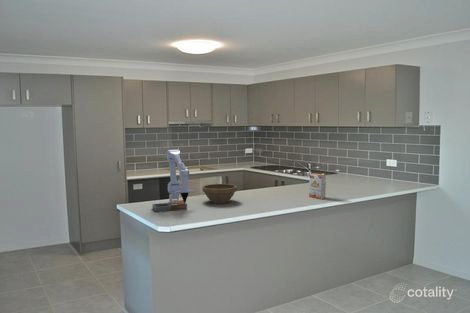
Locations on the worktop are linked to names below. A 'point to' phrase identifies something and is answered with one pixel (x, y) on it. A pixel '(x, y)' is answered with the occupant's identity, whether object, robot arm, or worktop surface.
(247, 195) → the worktop surface
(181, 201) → the terracotta block
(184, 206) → the walnut board
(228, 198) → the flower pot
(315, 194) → the cracker box
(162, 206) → the charcoal tray
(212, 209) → the worktop surface
